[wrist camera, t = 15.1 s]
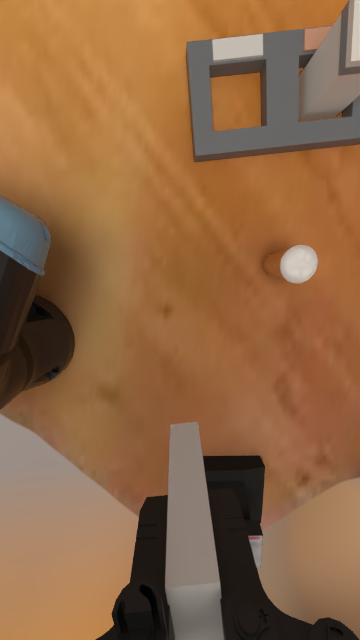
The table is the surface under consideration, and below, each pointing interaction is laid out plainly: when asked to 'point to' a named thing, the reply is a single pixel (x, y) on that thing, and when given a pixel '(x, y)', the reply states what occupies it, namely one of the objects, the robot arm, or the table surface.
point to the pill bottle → (292, 263)
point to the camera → (241, 490)
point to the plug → (332, 70)
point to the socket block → (262, 96)
